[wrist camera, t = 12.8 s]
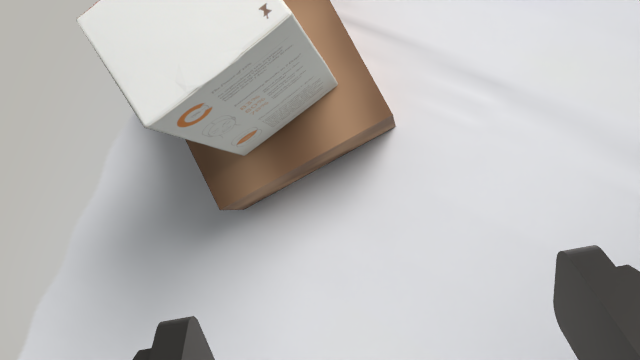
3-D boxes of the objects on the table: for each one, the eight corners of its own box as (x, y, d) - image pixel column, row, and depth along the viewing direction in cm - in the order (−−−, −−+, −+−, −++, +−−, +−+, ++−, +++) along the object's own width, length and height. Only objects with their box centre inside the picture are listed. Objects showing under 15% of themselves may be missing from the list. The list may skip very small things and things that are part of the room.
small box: (285, 10, 35) (212, -100, 23) (340, 85, 35) (296, 14, 22) (191, 84, 36) (70, 18, 24) (242, 159, 35) (145, 132, 23)
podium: (313, -22, 40) (299, -54, 36) (395, 126, 39) (392, 114, 34) (171, 64, 42) (139, 45, 37) (243, 209, 40) (219, 209, 36)
